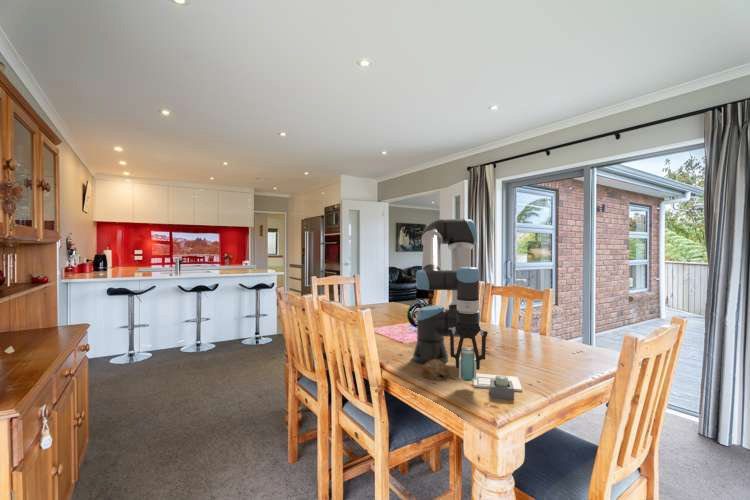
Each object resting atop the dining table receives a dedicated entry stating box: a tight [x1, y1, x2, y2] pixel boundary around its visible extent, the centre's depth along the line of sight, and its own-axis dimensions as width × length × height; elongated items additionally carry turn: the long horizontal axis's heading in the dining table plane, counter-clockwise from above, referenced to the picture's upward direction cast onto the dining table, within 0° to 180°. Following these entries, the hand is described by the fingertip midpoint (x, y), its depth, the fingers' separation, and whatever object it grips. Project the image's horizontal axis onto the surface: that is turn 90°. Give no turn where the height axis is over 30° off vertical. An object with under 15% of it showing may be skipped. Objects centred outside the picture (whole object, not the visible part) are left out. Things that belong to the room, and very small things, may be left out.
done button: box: [495, 374, 508, 387], centre depth 118 cm, size 4×4×4 cm
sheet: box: [472, 372, 523, 393], centre depth 128 cm, size 16×12×1 cm
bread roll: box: [421, 359, 450, 381], centre depth 135 cm, size 10×10×8 cm
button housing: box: [489, 379, 515, 401], centre depth 118 cm, size 7×7×4 cm
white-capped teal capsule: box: [460, 346, 475, 382], centre depth 123 cm, size 4×4×11 cm
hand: (467, 377), depth 123 cm, fingers closed on white-capped teal capsule, 4 cm apart
